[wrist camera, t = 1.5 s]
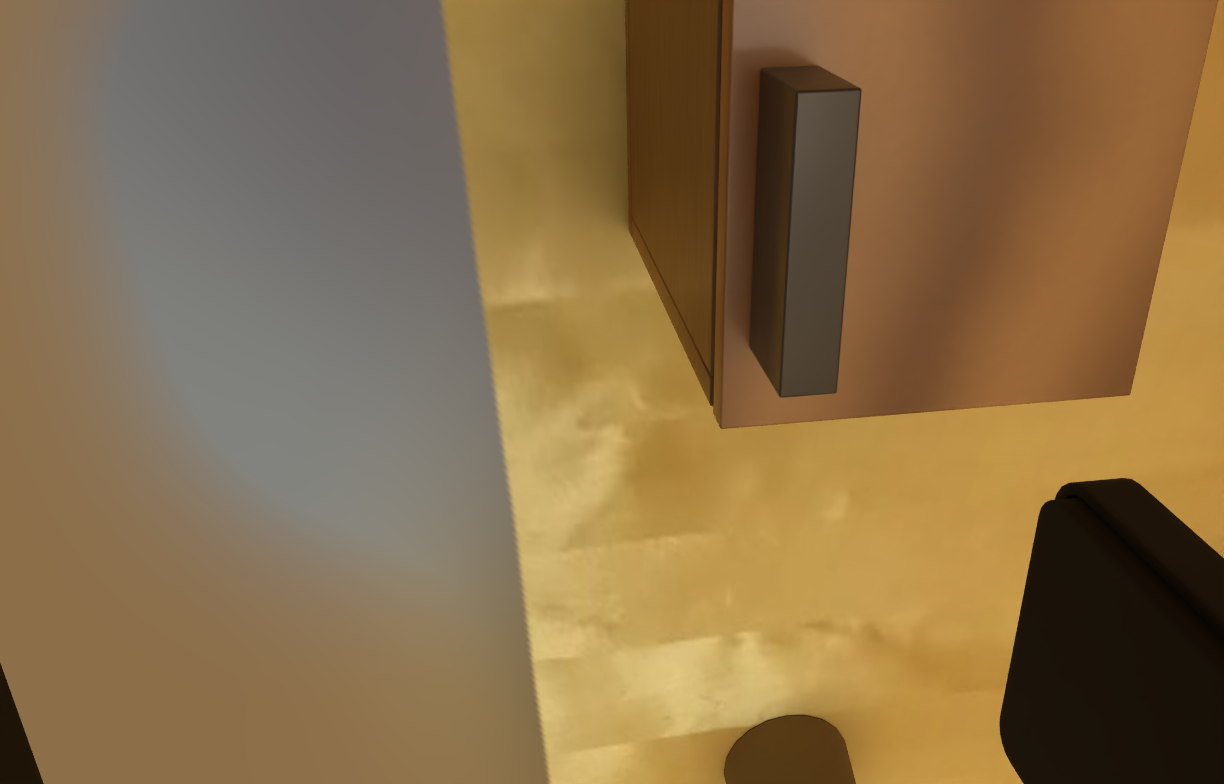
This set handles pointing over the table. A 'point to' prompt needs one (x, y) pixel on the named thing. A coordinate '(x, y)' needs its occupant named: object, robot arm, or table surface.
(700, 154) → the chest
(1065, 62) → the wooden lid
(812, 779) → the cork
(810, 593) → the table surface
